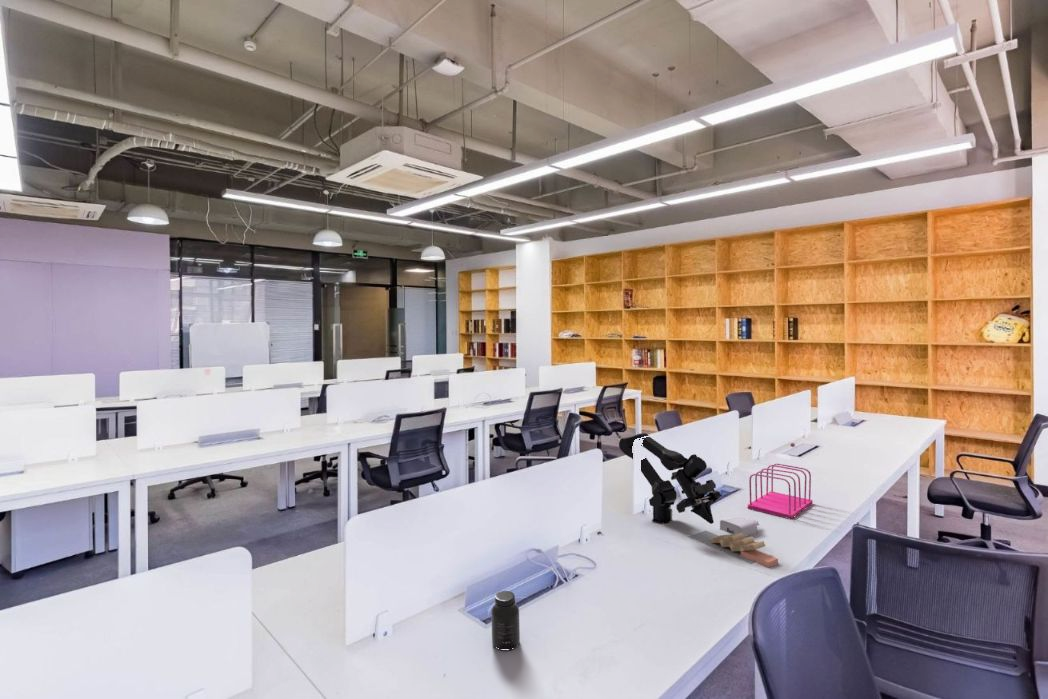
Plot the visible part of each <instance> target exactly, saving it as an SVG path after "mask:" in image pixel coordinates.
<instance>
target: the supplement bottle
mask: <svg viewBox="0 0 1048 699" xmlns="http://www.w3.org/2000/svg"><path fill="white" fill-rule="evenodd" d="M494 596H495V597H494V605H493V606H492V608H491V611H490V613H491V643H492V646H493V645H494V646H495V647H497V648H499V649H512V648H514V649H516V648H517V647H518V646H519V644H520V641H521V640H520V639H521V638H520V635H521V632H520V609H519V606H518V605H517V603H516V597H515V596H516V595H515V593H514V592H512V591H509V590H502V591H499V592H497V593H496V594H495V595H494ZM517 645H518V646H517ZM494 646H493V647H494ZM516 646H517V647H516ZM495 647H494V648H495ZM515 647H516V648H515ZM512 650H513V649H512Z"/></svg>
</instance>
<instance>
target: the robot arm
mask: <svg viewBox="0 0 1048 699" xmlns="http://www.w3.org/2000/svg"><path fill="white" fill-rule="evenodd" d="M644 436H649V434H648V433H646V432H642V433H641V432H640V433H637V434H636V435H633V436H629V437H628V436H627V437H621V439H620V440H619V441H618V442H619V443H618V447H619V449H620V451H621V452H622V453H623V454H624V455H625V456H627V457H629V458H631V459H632V460H633V453H632V446H633V442H634V440H635V439H637V438H641V437H644ZM642 439H644V440H643V443H642V444H643V446H642V448H644V449H646V450H647V452H650V453H651V454H652V455H654V456H655V457H657V458H658V459H659V461H660V463H661V465H662V466H663V467H664V468H665V469H666V470H667V471H669V472H670V471H673V472H671V476H670V479H671V480H668V479H667V480H664V479H662V478H661V476H660V474H658V472H657V470H656V469H655V468H654V467H653V465H652V464H651V462H650V461H649V459H648V458H647V457H646V458H645V459H643V460H641V471H640V472H641V473H642V475H643V477H645V479H646V480H647V482H648V484H649V485H650V487H651V494H652V496H651V497H650V498H649V499H648V503H649V506H650V507H652V514H653V515H652V520H651V522H652V521H653V523H659V524H665V525H666V524H669V523H670V522H672V520H673V509H672V506H673V505H674V504H675V501H676V500H677V497H678V493H677V491H676V487H675V486H674V485H673V484H672V482H671V481H674V480H676V482H678V484H679V486H680V488H681V491H680V493H681V494H682V495H683V494H685V496H686V498H683V499H682V500H680V501H679V502H678V503H677V504H676V505H675V506H676V507H675V508H676V510H677V512H678V514H681V513H684V512H686V508H690V507H691V510H690V512H691V513H694V514H696V515H697V516H699V517H700V518H702V519H703V520H705V521H706V522H707V523H709V524H710V525H712V524H713V523H714V518H713V517H714V516H713V514H712V509H711V507H712V506H711V505H713V504H714V503H716V502H717V501H718V500H719V499H721V498H722V497H723V496H722V493H721V492H720V491H718V490H715V489H716V488H717V486H716V485H717V484H716V482H715V481H714V480H713V479H709V480H706V481H705V483H704V484H702V483H701V482H700V481H696V479H695V478H697V477H699V476H700V475H701V474H702V473H703V472H705V470H707V468H708V465H707V463H706V461H705V460H704V459H703V458H702V457H700V456H698V455H697V454H696V453H695V454H690V456H689V457H688V458H687V457H685V456H684V455H683V454H682V453H680V452H677V451H675V450H671V449H668V448H667V447H665V446H664V445H662V444H661V443H659V442H658V441H656V440H655V439H653V438H652V437H651V436H649V437H646V438H642ZM639 440H640V439H639ZM675 470H677V471H675Z"/></svg>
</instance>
